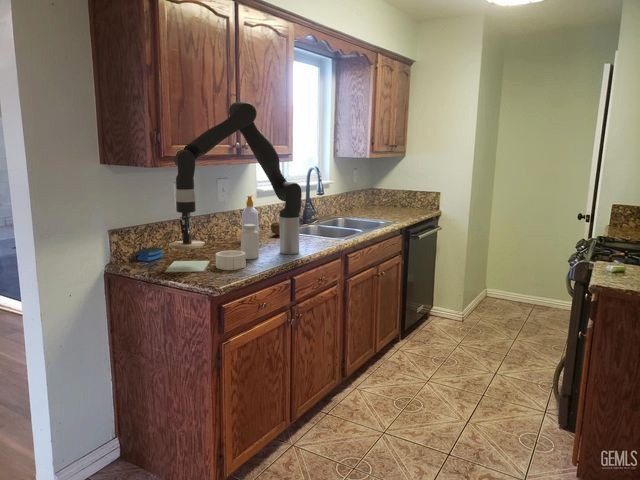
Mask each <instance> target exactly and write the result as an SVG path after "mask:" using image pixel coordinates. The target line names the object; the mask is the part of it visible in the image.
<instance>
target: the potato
mask: <svg viewBox="0 0 640 480" xmlns="http://www.w3.org/2000/svg"><path fill="white" fill-rule="evenodd" d="M270 231H271V233H272V234H275V235H277V236H279V237H280V222H272V223H271V225H270Z"/></svg>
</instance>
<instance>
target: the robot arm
mask: <svg viewBox="0 0 640 480" xmlns="http://www.w3.org/2000/svg"><path fill="white" fill-rule="evenodd" d="M257 114H258V113H257V109H256V107H255V106H254V105H253V104H251V103H250V102H245V101H234V102H233V103H232V104H231V105H230V106H229V107H228V115H229V116H228V118H226V119H225V120H223V121H222V122H221V123H218V124H216V125H214V126H213V127H212V126H211V128H208V129H207V130H206V131H204V132H202V133H201V134H200V135H199V136H197V137H196V138H195V139H193V141H191V142H190V143H188V144H186V145H185V148H184V150H180V149H179V150H180V151H178V150H177V151H178V152H177V151H176V152H177V154H176V156H175V157H174V156H173V158H174V160H173V162H175V163H174V165H175V166H177V175H176V177H175V204H176V205H175V206H176V207H175V209H176V211H175V212H177V213H179V214H181V216H180V220H179V223H180V231H181V235H182V234H183V238H182V241H183V243H189V231H191V232H192V230H193V215H191V213H195V212H196V210H197V209H196V208H197V207H196V193H195V171H196V160H197V159H198V158H199V157H201V156H204V155H206V154H208V152H210V151H211V150H213V149H214V148H215V147H216V146H217V145H219V144H220V143H221V142H223V141H224V140H226V139H227V138H228V137H230V136H231V135H234V133H236V132H238V131H239V132H240V133H241V135H242V137H243V138H244V140H245V142H246V143H247V145H248V148H249V149H250V150H251V152H252V153H253V156H254V157H255V159H256V160H257V162H258V164H259V165H260V167H261V168H262V170H263V172H264V174H265V176H266V177H267V178H268V180H269V183H270V185H271V186H272V189H273V191H274V194H275V195H276V197H277V198H278V199H279V200H280V201H281V202H285V203H284V208H282V209H280V210H279V223H280V236H279V253H280V254H283V255H296V254H300V212H301V210H302V198H303V197H302V196H303V195H302V187H301V185H299V183H297V182H292V181H287V179H286V178H285V176H284V175H283V174H282V171H281V168H280V167H281V165H280V156H279V154H278V152H277V151H276V148H275V147H274V145H273V143H272V142H271V141H270V140H269V139H268V137H267V136H266V135H264V133H263V132H261V130H260V129H259V128H258V127H257V126H256V124H255V122H254V121H256V119H257Z"/></svg>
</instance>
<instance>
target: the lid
mask: <svg viewBox="0 0 640 480" xmlns="http://www.w3.org/2000/svg"><path fill="white" fill-rule="evenodd" d="M181 235H182V239H183V234H182V233H181ZM205 244H206V242H205V241H202V240H195V239H193V240H192V230H191V231H189V243H183V240H177V241H172V242H170V243H169V244H168V245H169V248H171V249H175V250H194V249H201V248H204V247H205V246H206V245H205Z"/></svg>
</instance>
